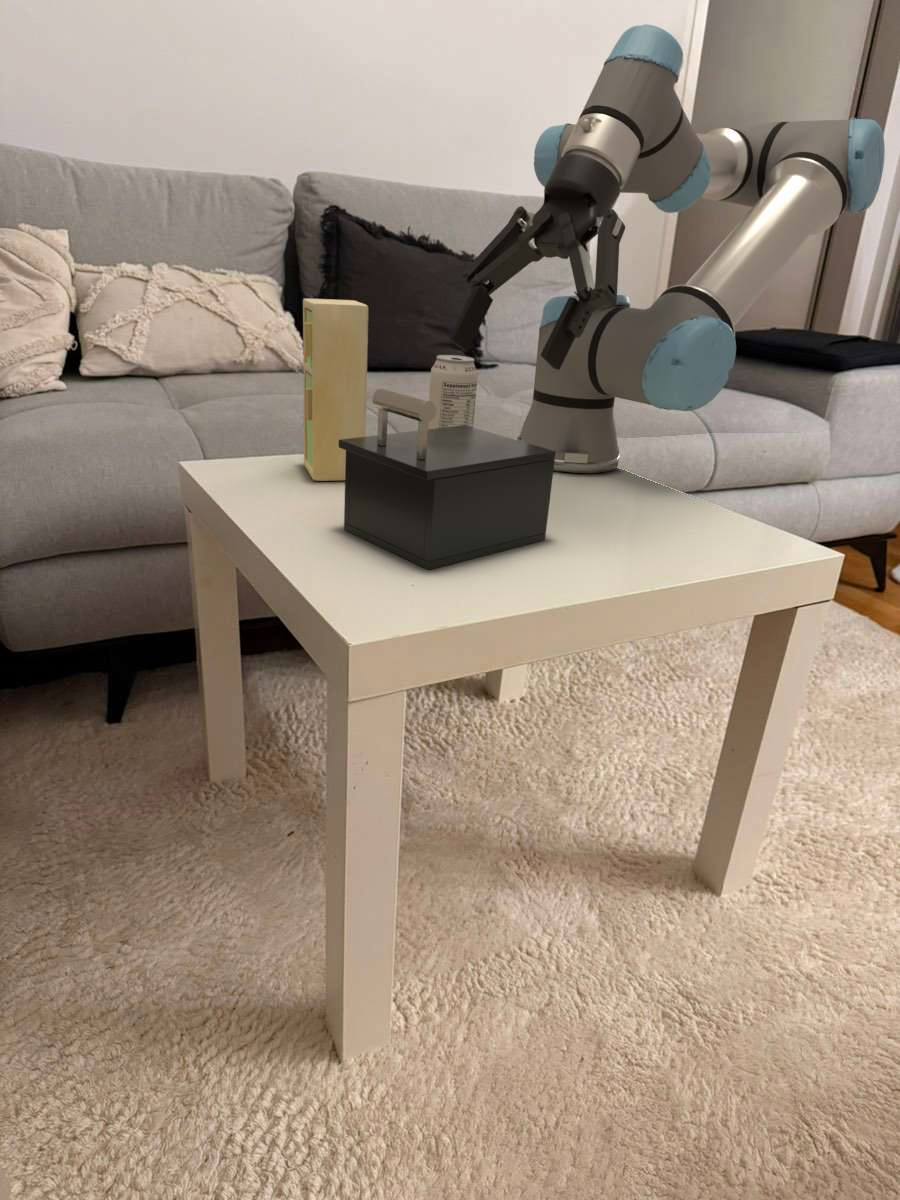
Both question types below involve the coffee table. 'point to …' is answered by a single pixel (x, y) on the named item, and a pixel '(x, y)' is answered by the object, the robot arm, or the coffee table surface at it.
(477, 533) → the black box
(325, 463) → the toy refrigerator
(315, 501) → the coffee table surface
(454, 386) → the energy drink can
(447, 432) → the box lid
